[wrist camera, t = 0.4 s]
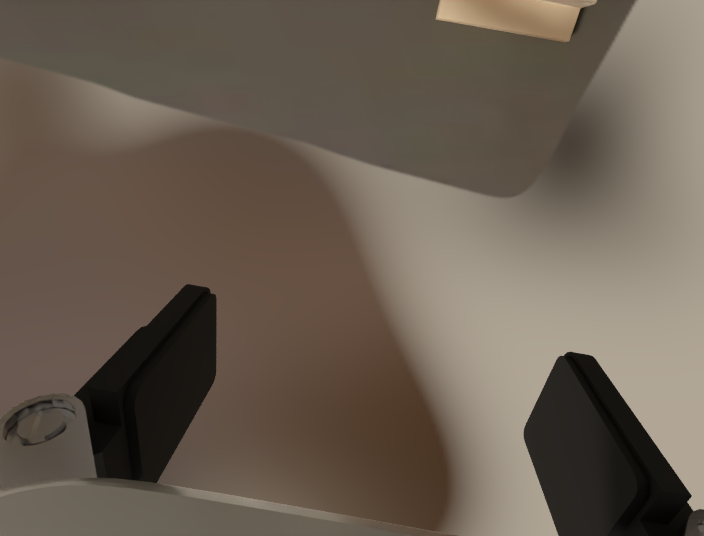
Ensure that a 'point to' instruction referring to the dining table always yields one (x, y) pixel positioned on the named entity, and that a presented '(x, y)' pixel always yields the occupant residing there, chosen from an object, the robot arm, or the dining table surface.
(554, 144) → the dining table surface
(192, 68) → the dining table surface
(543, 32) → the open rectangular box
